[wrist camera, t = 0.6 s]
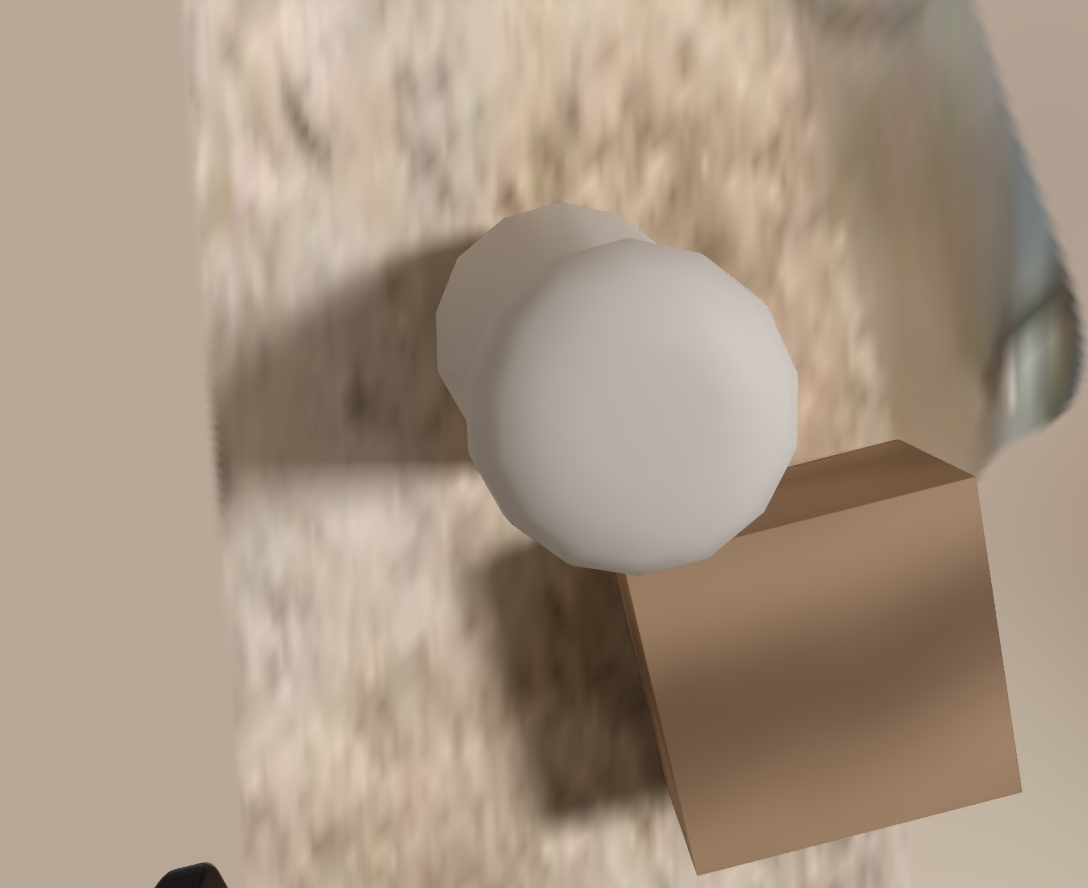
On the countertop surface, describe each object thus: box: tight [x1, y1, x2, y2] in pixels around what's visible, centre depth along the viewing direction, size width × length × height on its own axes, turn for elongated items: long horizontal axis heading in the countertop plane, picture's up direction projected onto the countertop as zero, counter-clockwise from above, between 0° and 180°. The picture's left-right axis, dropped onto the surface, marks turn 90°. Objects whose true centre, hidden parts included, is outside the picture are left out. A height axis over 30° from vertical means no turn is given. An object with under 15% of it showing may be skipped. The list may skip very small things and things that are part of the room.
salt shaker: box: [436, 202, 798, 576], centre depth 18 cm, size 6×6×13 cm
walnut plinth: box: [615, 440, 1022, 876], centre depth 24 cm, size 8×8×4 cm
